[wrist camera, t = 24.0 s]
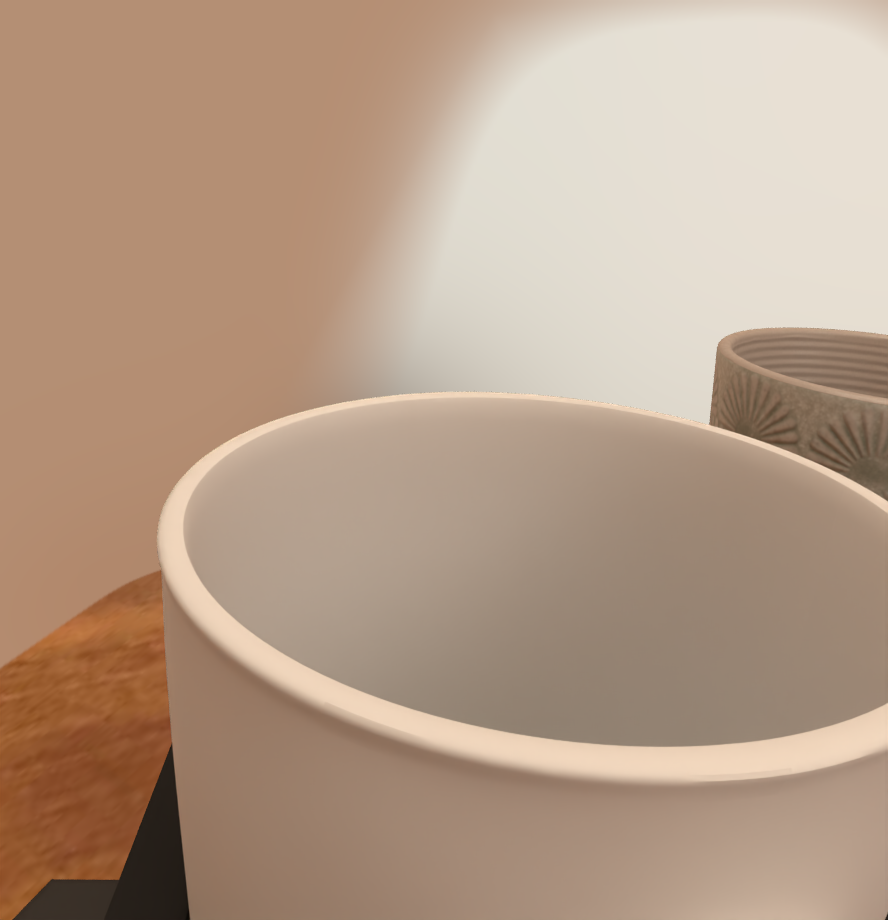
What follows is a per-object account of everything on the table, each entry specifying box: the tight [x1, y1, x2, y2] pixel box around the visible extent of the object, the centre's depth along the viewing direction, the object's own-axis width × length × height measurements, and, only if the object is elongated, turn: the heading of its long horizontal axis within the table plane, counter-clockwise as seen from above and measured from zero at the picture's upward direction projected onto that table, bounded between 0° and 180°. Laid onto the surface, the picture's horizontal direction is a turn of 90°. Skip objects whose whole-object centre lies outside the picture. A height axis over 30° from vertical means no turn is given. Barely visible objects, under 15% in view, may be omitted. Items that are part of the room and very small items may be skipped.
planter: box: [709, 328, 888, 501], centre depth 46 cm, size 17×17×15 cm
